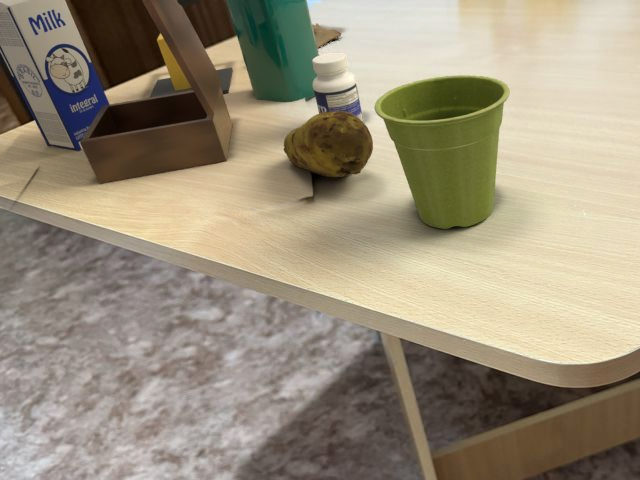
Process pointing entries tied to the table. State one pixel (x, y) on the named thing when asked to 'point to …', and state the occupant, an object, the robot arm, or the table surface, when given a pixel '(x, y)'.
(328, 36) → the jawbone
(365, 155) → the potato
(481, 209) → the plant pot
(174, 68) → the block
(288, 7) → the pitcher
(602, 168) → the table surface
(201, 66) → the lid
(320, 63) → the pill bottle
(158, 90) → the mat
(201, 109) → the brown wooden box
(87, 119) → the milk carton
